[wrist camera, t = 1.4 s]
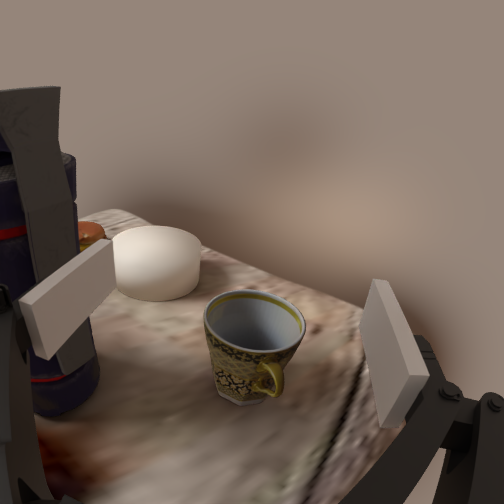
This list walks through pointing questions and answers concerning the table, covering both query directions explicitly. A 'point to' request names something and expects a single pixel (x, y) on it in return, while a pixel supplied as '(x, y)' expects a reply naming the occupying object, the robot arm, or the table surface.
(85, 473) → the table surface
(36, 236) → the grenade
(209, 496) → the table surface
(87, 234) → the burger
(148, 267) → the plinth
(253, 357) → the ceramic cup
